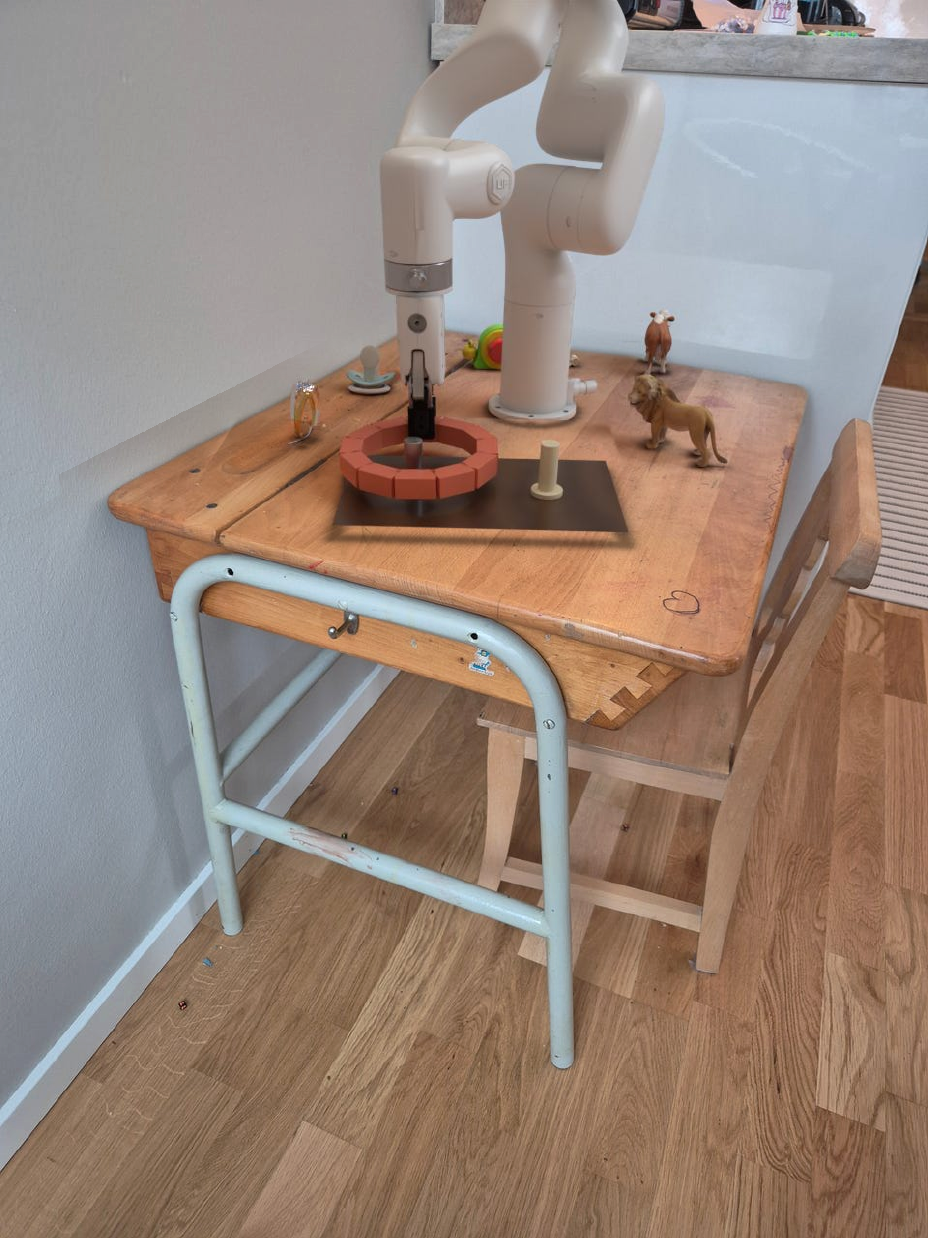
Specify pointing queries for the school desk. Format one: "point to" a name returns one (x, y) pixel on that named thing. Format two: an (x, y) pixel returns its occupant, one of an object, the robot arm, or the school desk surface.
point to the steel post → (413, 453)
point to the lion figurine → (673, 416)
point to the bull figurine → (658, 339)
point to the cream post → (548, 472)
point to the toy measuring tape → (492, 349)
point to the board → (495, 500)
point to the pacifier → (369, 374)
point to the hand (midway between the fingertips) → (422, 432)
